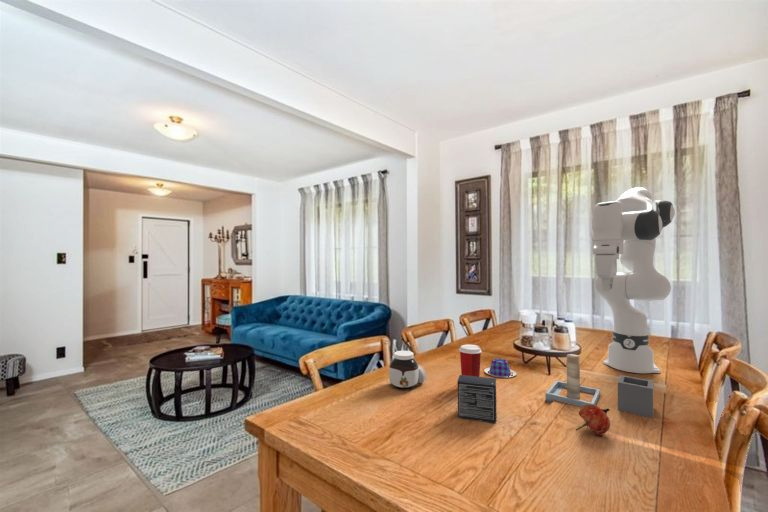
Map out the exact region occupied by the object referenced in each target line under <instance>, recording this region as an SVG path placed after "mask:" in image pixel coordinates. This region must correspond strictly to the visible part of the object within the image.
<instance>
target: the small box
mask: <svg viewBox="0 0 768 512" xmlns="http://www.w3.org/2000/svg"><path fill="white" fill-rule="evenodd" d="M456 382H457V418H458V419H463V420H469V421H471V420H472V421H478V422H484V423H491V424H497V422H498V421H497V417H498V416H497V413H498V412H497V377H486V376H485V377H483V376H479V377H476V376H466V375H461V374H460V375H459V376H458V378H457V381H456Z"/></svg>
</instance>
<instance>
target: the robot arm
mask: <svg viewBox="0 0 768 512" xmlns="http://www.w3.org/2000/svg"><path fill="white" fill-rule="evenodd" d="M675 210H676V209H675V207H674V205H673V203H672V202H671V201H669V200H663V199H660V200H653V196H652V193H651V192H650V190H648V189H647V188H644V187H633V188H631V189H628V190H627V191H625V192H624V193H622V194H621V195H620V197H618V199H616V200H614V201H613V200H611V201H604V202H603V201H602V202H598V203H596V204H595V205H594V206H593V212H592V221H591V223H592V224H591V229H592V232H593V233H592V234H593V237H592V240H591V241H592V242H591V243H592V244H591V245H592V246H591V248H592V252H591V253H592V254H591V255H595V256H594V258H595V268H596V275H597V276H596V277H595V279H594V281H593V288H594V291H595V293H596V294H598V295H599V296H600V297H602V298H603V299H604V300H605V302H606V303H607V304H608V305H609V307H610V309H611V313H612V319H613V331H612V335H611V336H612V342H610V343H609V344H608V348H607V359H604V360H602V361H603V362H602V364H603V365H606V366H609V367H611V368H614V369H616V370H618V371H622V372H627V373H635V374H660V373H661V370H660V369H659V367H658V366H657V365H656V364H655V363H654V362H655V359H654V350H653V349H652V348H651V347H650V346H649V345H650V338H649V335H648V317H647V315H646V314H645V312H643V311H642V310H641V309H639V308H636V307H634V306H633V305H632V303H631V302H630V300H633V301H636V300H637V301H646V302H652V301H654V302H655V301H663V300H666V298H668V296H669V295H670V293H671V292H672V291H671V290H672V286H671V282H670V280H669V279H668V278H667V277H666V276H665V275H663V274H662V273H660V272H659V271H657V270H656V268H655V266H654V258H655V257H654V256H655V250H656V243H657V239H656V238H658V236H660V235H661V232H662V231H663V228H665V227H667V226H668V225H670V224H671V223H672V222H673V219H674V217H675V216H676V215H675V214H676V211H675ZM617 260H619V261H620V264H621V265H622V266H623V267H624V268H626V269H627V270H629V271H631V272H627V271H626V272H620V271H619V272H618V261H617Z"/></svg>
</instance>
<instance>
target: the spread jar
mask: <svg viewBox="0 0 768 512" xmlns="http://www.w3.org/2000/svg"><path fill="white" fill-rule="evenodd" d="M414 354H415V353H414V352H412V351H410V350H397V351H395V352H394V353H393V355H394V358H393V359H392V360H391V362H390V364H389V369H388V379H389V383H390V385H391V386H392V387H393V388H394V389H396V390H401V391H407V390H408V391H409V389H410V390H412V389H414V388H415V387H416V386H417V385H418V383H419V384H422V383H424V382H425V381H426V380H427V372H426V370H425V369H424V368H423V366H421V365H420V364H419V363H418V362H417V360H416V359H415V358H414Z"/></svg>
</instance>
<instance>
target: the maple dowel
mask: <svg viewBox="0 0 768 512" xmlns="http://www.w3.org/2000/svg"><path fill="white" fill-rule="evenodd" d="M580 359H581V357H580V355H577V354H572V353H570V354H566V383H567V388H566V397H569V398H573V399H580V397H581V391H580V386H581V385H580V384H581V374H580V373H581V371H580V369H581V365H580Z"/></svg>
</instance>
